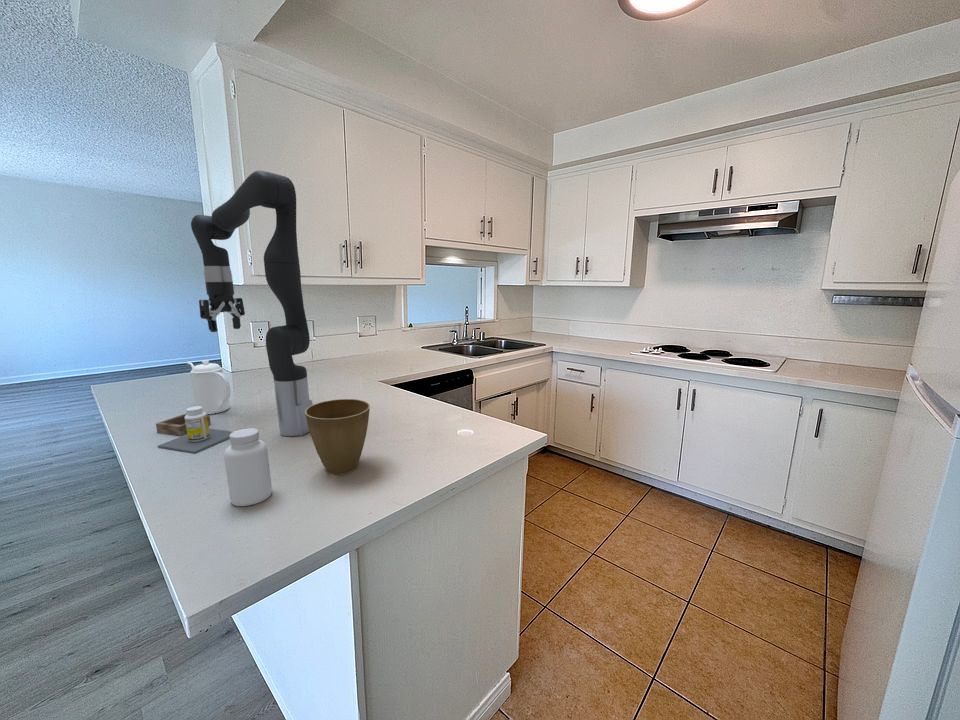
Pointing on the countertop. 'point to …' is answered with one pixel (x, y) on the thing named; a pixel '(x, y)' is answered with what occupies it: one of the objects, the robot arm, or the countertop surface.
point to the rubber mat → (196, 447)
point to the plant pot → (338, 432)
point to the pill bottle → (247, 468)
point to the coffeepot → (210, 387)
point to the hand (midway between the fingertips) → (225, 330)
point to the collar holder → (175, 425)
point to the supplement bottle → (196, 424)
